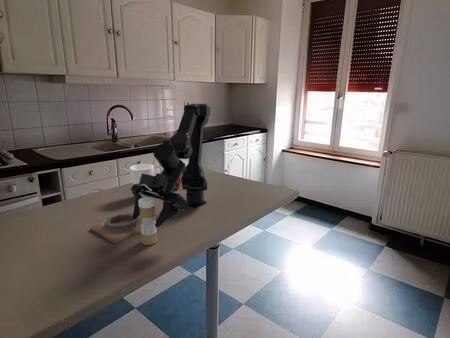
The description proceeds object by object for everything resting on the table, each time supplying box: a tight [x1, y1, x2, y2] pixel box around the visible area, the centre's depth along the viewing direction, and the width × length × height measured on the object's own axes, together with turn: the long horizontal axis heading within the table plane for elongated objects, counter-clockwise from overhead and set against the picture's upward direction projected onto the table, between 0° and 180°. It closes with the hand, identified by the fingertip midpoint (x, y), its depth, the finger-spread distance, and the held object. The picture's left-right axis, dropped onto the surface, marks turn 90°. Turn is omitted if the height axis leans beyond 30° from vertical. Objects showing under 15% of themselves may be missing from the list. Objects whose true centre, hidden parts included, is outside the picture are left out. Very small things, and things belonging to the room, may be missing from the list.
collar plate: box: [89, 212, 141, 244], centre depth 93 cm, size 14×14×3 cm
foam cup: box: [129, 163, 155, 190], centre depth 119 cm, size 10×9×13 cm
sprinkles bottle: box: [138, 197, 158, 246], centre depth 83 cm, size 5×5×13 cm
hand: (144, 222), depth 82 cm, fingers open, 9 cm apart
